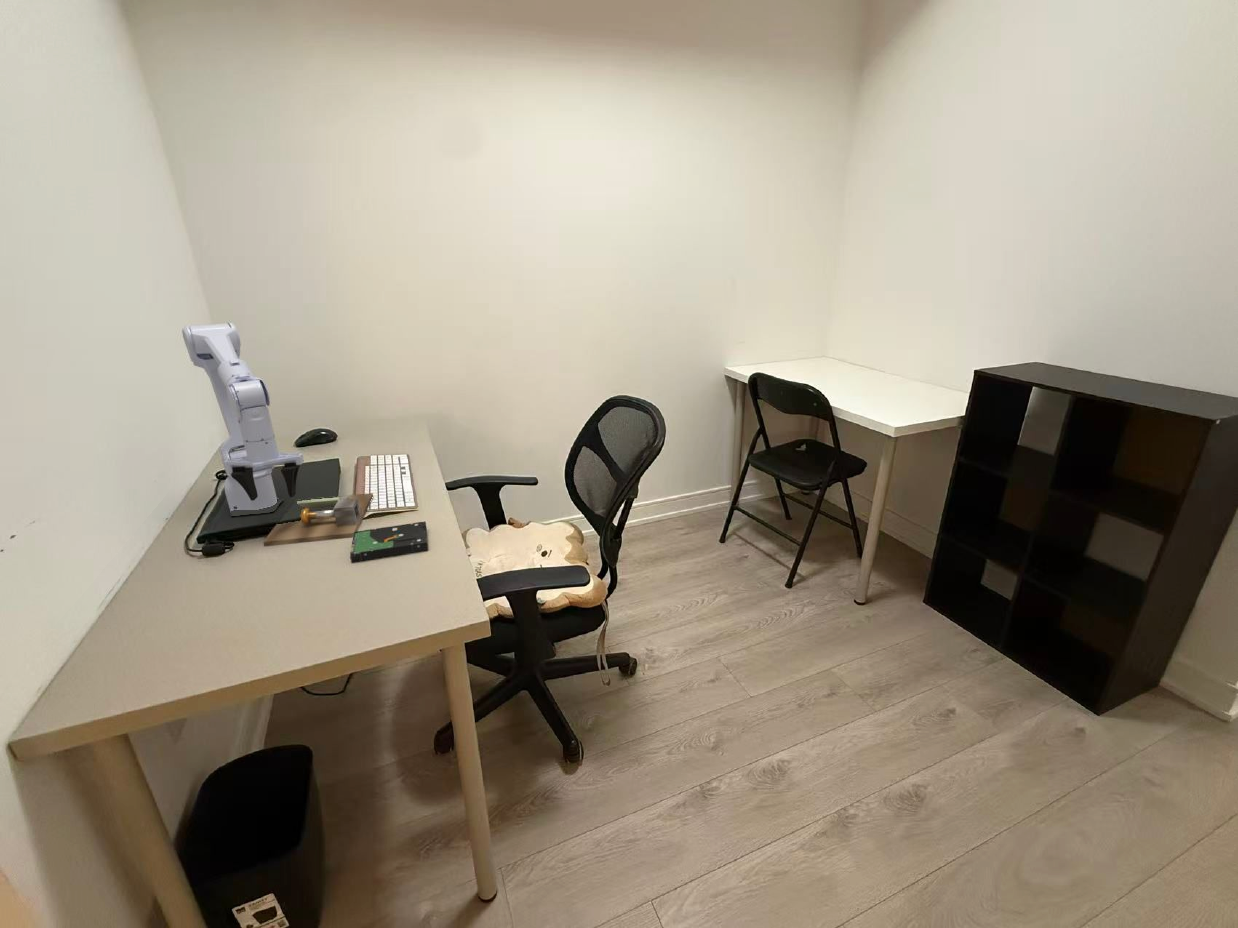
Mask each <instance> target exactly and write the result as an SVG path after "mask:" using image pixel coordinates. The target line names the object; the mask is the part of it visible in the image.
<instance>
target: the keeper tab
mask: <svg viewBox="0 0 1238 928" xmlns="http://www.w3.org/2000/svg"><path fill="white" fill-rule="evenodd" d="M323 498H324V497H323ZM312 499H313V498H312ZM338 500H342V499H341V498H340V497H336V498H324V499H313V500H302V501H297V504H298V505H300V506H302V507H305V508H309V509H313V508H324V507H335V505H336V503H337V502H338Z"/></svg>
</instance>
